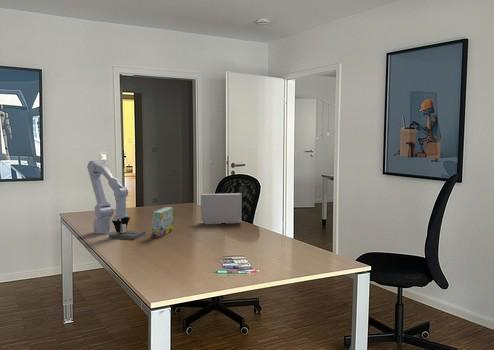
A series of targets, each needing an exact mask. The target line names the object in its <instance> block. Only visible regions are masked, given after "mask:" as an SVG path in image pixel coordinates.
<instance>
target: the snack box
mask: <svg viewBox="0 0 494 350" xmlns="http://www.w3.org/2000/svg"><path fill="white" fill-rule="evenodd" d="M151 214H152V215H151V218H152V222H151V224H152V225H151V238H154V239H155V238H156V239H157V238H158V239H160V238H162V237H164V236H165V235H167V234H169V233H171V232H173V230H174V224H173V223H174V207H170V206H165V207H162V208H160V209H157V210H155V211H153V212H152V213H151Z"/></svg>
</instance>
